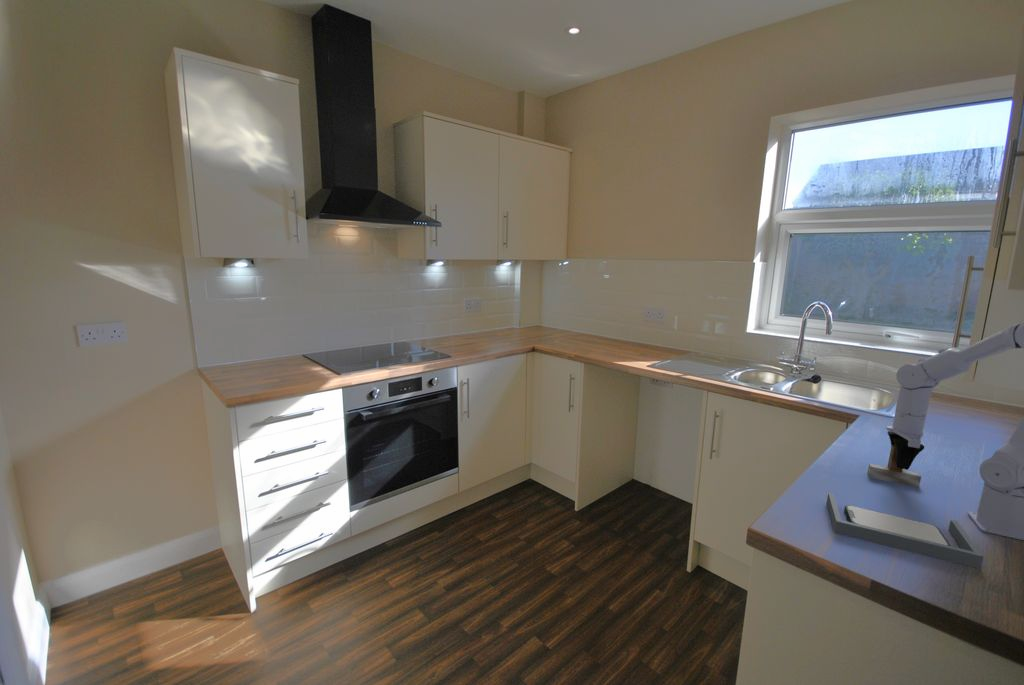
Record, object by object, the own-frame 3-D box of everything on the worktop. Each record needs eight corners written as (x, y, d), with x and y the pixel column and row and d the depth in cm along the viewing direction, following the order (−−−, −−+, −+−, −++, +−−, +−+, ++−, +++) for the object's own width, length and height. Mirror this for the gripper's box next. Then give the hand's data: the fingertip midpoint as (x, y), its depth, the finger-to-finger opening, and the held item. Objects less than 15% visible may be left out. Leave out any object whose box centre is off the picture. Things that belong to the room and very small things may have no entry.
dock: (954, 532, 96) (957, 521, 95) (980, 568, 84) (983, 556, 84) (826, 503, 105) (828, 492, 105) (834, 532, 94) (836, 521, 94)
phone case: (935, 532, 97) (842, 509, 104) (937, 525, 96) (844, 503, 103) (951, 556, 89) (850, 530, 96) (953, 548, 89) (851, 523, 95)
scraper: (916, 483, 116) (923, 449, 114) (919, 488, 114) (926, 453, 112) (866, 474, 121) (873, 441, 119) (868, 477, 119) (875, 444, 117)
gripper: (883, 401, 122) (873, 450, 124) (897, 418, 109) (886, 472, 112) (918, 406, 118) (907, 456, 121) (936, 424, 106) (924, 479, 108)
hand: (900, 464), depth 116 cm, fingers open, 4 cm apart
